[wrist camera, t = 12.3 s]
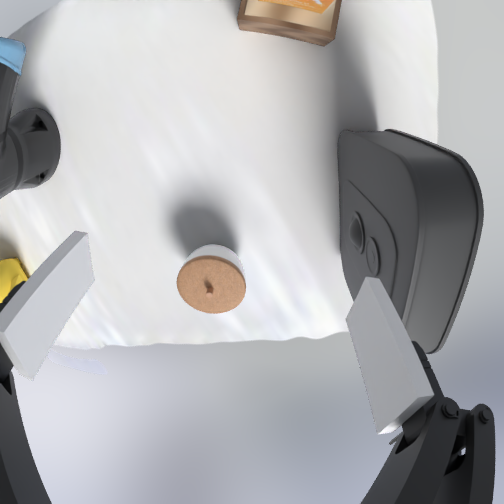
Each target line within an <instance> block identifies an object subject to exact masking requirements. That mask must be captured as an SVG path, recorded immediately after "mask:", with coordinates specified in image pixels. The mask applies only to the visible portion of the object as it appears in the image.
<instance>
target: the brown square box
mask: <svg viewBox="0 0 504 504" xmlns="http://www.w3.org/2000/svg"><path fill="white" fill-rule="evenodd" d="M341 1H342V0H335V1H334V2H333V3H332V4H331V5H330V6H329V7H328V8H327V9H326V10H325V11H324V13H323V14H319V13H316V12H312V11H309V10H305V9H301V8H296V7H292V6H287V5H282V4H277V3H270V2H262V1H258V0H241V4H240V8H239V13H238V17H237V21H238V25H239V29H240V30H244V31H252V32H259V33H265V34H271V35H277V36H282V37H287V38H292V39H296V40H301V41H305V42H309V43H313V44H317V45H321V46H325V45H327V44H328V43H330V42H331V41H332V40H334V39H335V34H336V29H337V24H338V18H339V13H340V7H341Z"/></svg>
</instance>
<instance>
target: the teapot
mask: <svg viewBox="0 0 504 504" xmlns="http://www.w3.org/2000/svg"><path fill="white" fill-rule="evenodd" d="M27 280H28V278H27V277H26V275H25V273H24V271H23V270H22V268H21V263H20V261H19V259H18V258H14V259H4V260H1V261H0V303H2V301H3V299H4V298H5V297H6V296H8V293H9V292H10V291H11V290H12V289H13V288H14V286H16V285H17V284H19V283H21V282H22V281H27Z"/></svg>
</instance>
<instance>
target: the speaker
mask: <svg viewBox="0 0 504 504" xmlns="http://www.w3.org/2000/svg"><path fill="white" fill-rule="evenodd" d="M338 171H339V194H340V248H341V259H342V266H343V272H344V276H345V280H346V283H347V286H348V288H349V291H350V293H351V296H352V298H353V301H355V299H356V297H357V295H358V293H359V291H360V288H361V286H362V284H363V282H364V280H365V277H372V278H379V279H380V281H381V283H382V284H383V286H384V288H385V290H386V292H387V294H388V296H389V298H390V299H391V301H392V303H393V305H394V307H395V309H396V311H397V313H398V315H399V317H400V319H401V321H402V323H403V325H404V327H405V329H406V331H407V333H408V336H409V338H410V340H411V341H416V342H417V343H418V344H419V345H420V346H421V348H422V349H423V350H424V352H425V353H426V354H432V353H436V352H438V351H439V350H440V349H441V348H442V347H443V345H444V344H445V341H446V339H447V337H448V335H449V333H450V330H451V328H452V326H453V323H454V321H455V318H456V316H457V313H458V311H459V308H460V305H461V302H462V299H463V297H464V294H465V291H466V288H467V285H468V282H469V278H470V275H471V271H472V268H473V265H474V261H475V257H476V254H477V250H478V245H479V241H480V236H481V231H482V226H483V217H484V208H483V199H482V193H481V189H480V186H479V183H478V180H477V178H476V175H475V173H474V171H473V170H472V168H471V166H470V165H469V164H468V162H467V161H466V160H465V159H464V158H463V157H462V156H460V155H459V154H457V153H455V152H453V151H451V150H449V149H446V148H444V147H441V146H439V145H437V144H434V143H432V142H429V141H427V140H424V139H421V138H419V137H416V136H413V135H410V134H407V133H404V132H401V131H398V130H394V129H386V130H384V131H367V132H353V131H350V130H343V131H342V132H341V134H340V137H339V141H338Z"/></svg>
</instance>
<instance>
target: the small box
mask: <svg viewBox="0 0 504 504" xmlns="http://www.w3.org/2000/svg"><path fill="white" fill-rule="evenodd" d="M258 1H262V2H270V3H277V4H282V5H287V6H292V7H296V8H301V9H305V10H309V11H312V12H316V13H319V14H323V13H324V11H325V10H326V9H327V8H328V7H329V6H330V5H331V4H332V3H333V2H334V1H335V0H258Z"/></svg>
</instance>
